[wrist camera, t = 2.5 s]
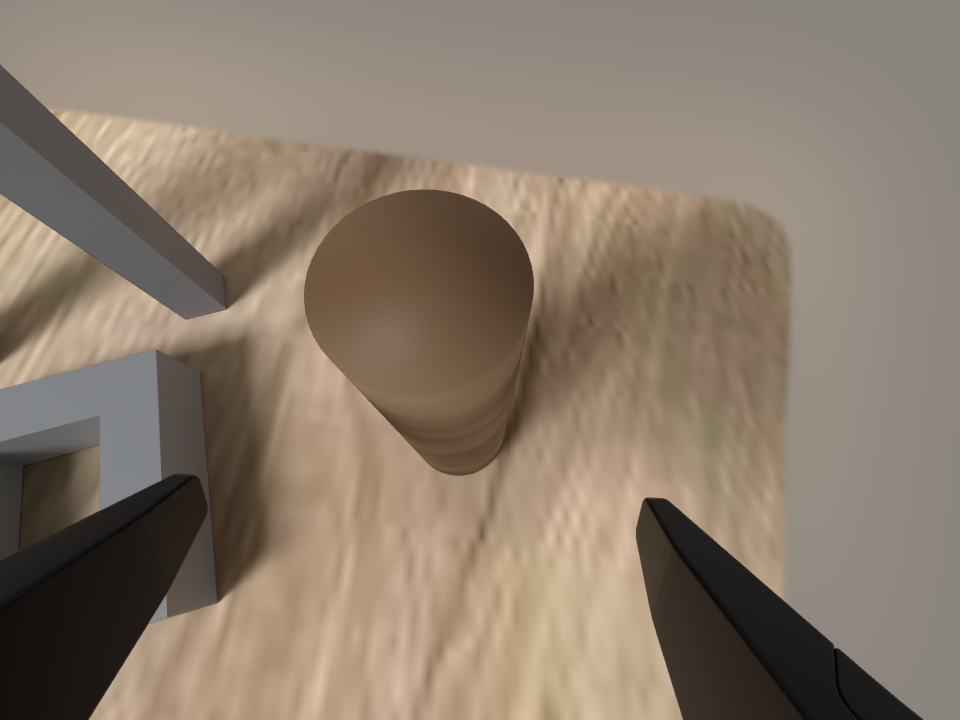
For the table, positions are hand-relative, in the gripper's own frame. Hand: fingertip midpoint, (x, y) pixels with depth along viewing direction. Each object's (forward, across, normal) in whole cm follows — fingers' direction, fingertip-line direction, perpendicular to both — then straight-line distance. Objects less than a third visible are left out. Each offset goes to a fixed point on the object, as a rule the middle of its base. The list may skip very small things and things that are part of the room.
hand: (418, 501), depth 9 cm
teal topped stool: (+10, +17, +4) cm, 20 cm away
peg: (+10, 0, +5) cm, 11 cm away
